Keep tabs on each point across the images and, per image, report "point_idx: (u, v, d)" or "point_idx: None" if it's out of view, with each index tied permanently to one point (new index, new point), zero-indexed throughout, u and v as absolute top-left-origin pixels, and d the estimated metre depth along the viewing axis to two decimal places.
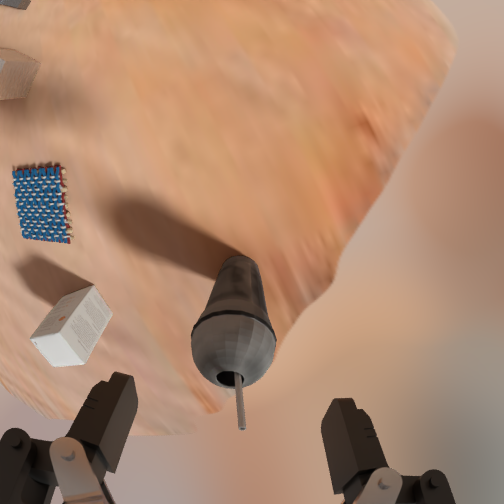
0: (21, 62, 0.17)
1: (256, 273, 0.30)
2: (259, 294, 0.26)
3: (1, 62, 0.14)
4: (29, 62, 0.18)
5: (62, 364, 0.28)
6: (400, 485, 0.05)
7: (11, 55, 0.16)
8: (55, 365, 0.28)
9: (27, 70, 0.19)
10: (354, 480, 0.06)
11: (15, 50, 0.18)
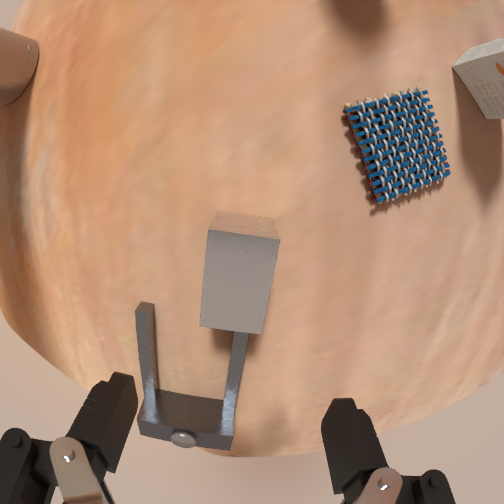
0: (215, 220, 0.22)
1: None
2: None
3: (212, 240, 0.19)
4: None
5: None
6: (400, 485, 0.05)
7: None
8: None
9: (230, 216, 0.24)
10: (354, 480, 0.06)
11: None
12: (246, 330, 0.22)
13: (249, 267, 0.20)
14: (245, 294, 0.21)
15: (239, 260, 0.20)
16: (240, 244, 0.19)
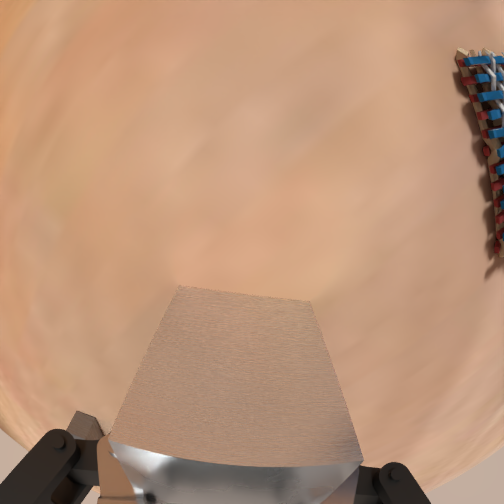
0: (152, 352, 0.07)
1: None
2: None
3: (131, 460, 0.04)
4: None
5: None
6: (356, 475, 0.06)
7: None
8: None
9: (201, 319, 0.08)
10: None
11: None
12: None
13: (256, 501, 0.05)
14: None
15: (228, 495, 0.05)
16: (226, 478, 0.04)
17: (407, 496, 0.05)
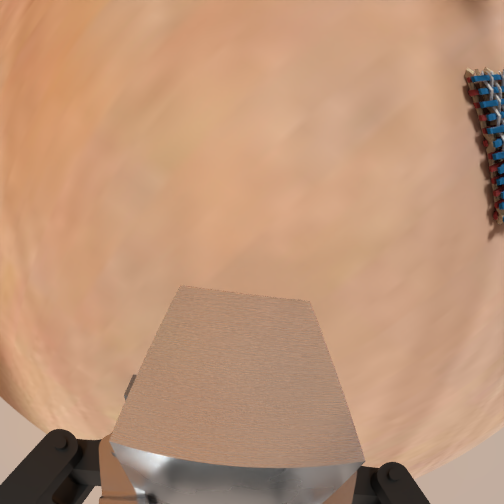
0: (152, 353, 0.07)
1: None
2: None
3: (132, 462, 0.04)
4: (165, 322, 0.08)
5: None
6: (354, 475, 0.06)
7: None
8: None
9: (202, 320, 0.08)
10: None
11: None
12: None
13: (258, 502, 0.05)
14: None
15: (229, 496, 0.05)
16: (227, 479, 0.04)
17: (406, 496, 0.05)
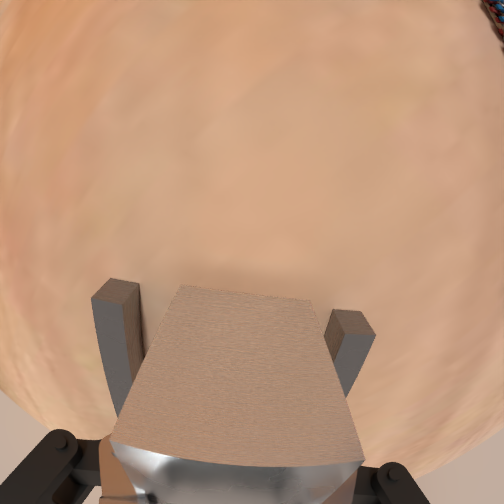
0: (153, 352, 0.07)
1: None
2: None
3: (132, 461, 0.04)
4: (166, 322, 0.08)
5: None
6: (354, 475, 0.06)
7: None
8: None
9: (202, 319, 0.08)
10: None
11: None
12: None
13: (258, 502, 0.05)
14: None
15: (229, 495, 0.05)
16: (228, 478, 0.04)
17: (405, 496, 0.05)
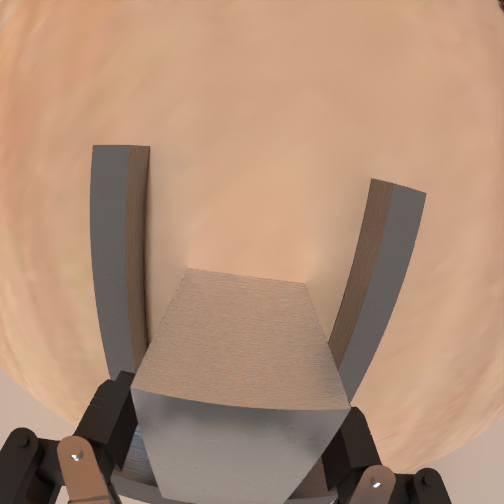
0: (167, 319, 0.08)
1: None
2: None
3: (148, 410, 0.05)
4: None
5: None
6: (393, 483, 0.05)
7: None
8: None
9: (209, 295, 0.10)
10: (347, 477, 0.06)
11: None
12: None
13: (257, 457, 0.06)
14: (249, 483, 0.07)
15: (232, 447, 0.06)
16: (231, 424, 0.06)
17: (435, 502, 0.04)
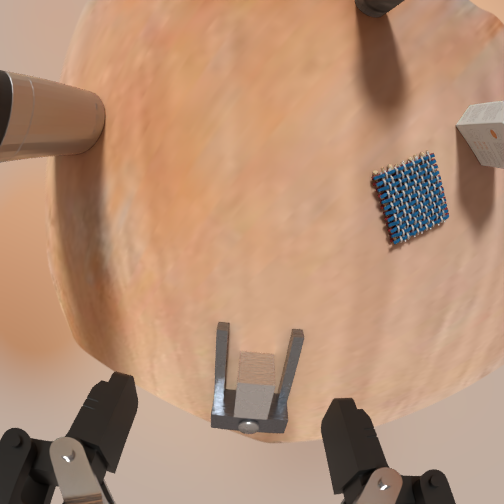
0: (240, 368, 0.37)
1: None
2: None
3: (239, 386, 0.34)
4: (240, 361, 0.38)
5: None
6: (400, 485, 0.05)
7: None
8: None
9: (248, 360, 0.38)
10: (354, 480, 0.06)
11: None
12: (258, 418, 0.36)
13: (259, 396, 0.35)
14: (258, 405, 0.35)
15: (254, 393, 0.34)
16: (254, 387, 0.34)
17: (440, 503, 0.04)
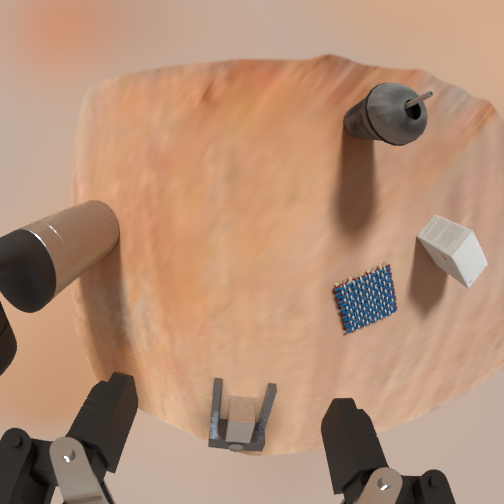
0: (230, 409, 0.48)
1: (349, 112, 0.32)
2: (357, 106, 0.28)
3: (230, 423, 0.46)
4: (230, 404, 0.50)
5: (481, 253, 0.31)
6: (400, 485, 0.05)
7: None
8: (485, 261, 0.31)
9: (235, 403, 0.50)
10: (354, 480, 0.06)
11: (227, 416, 0.54)
12: (243, 442, 0.48)
13: (244, 429, 0.46)
14: (243, 434, 0.47)
15: (240, 427, 0.46)
16: (240, 424, 0.46)
17: (440, 503, 0.04)
